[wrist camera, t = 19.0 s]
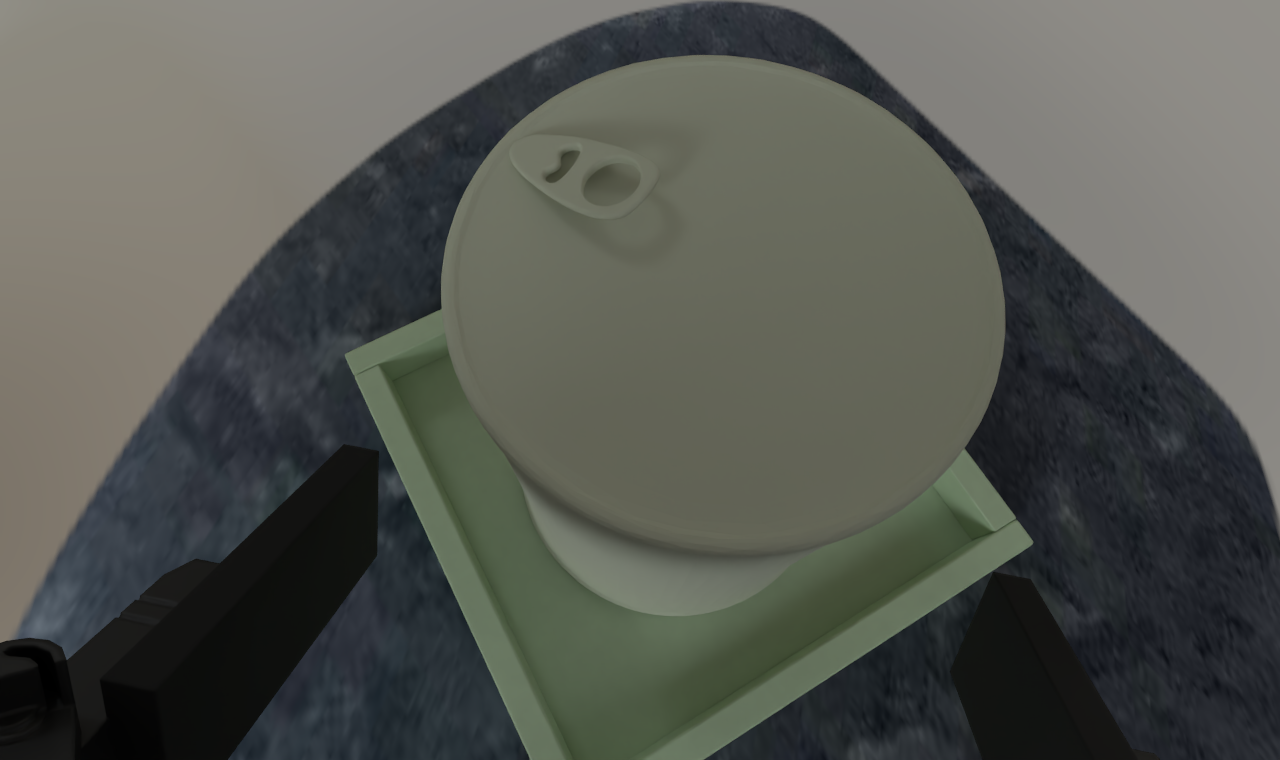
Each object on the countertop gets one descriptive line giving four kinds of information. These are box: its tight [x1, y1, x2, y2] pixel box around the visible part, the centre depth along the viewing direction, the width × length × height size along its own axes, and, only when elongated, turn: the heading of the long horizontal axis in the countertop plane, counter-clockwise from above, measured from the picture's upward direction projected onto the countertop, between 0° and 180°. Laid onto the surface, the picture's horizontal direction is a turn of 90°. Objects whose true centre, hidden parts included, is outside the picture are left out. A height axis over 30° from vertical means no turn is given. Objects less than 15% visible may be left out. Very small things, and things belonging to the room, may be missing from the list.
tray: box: [345, 309, 1033, 760], centre depth 22 cm, size 15×15×2 cm
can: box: [441, 55, 1005, 616], centre depth 17 cm, size 9×9×12 cm
